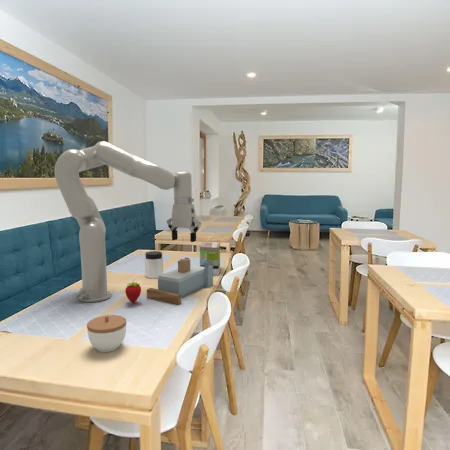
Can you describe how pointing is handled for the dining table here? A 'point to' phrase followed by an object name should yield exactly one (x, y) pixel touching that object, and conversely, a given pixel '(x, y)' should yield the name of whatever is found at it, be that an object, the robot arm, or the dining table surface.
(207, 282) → the toolbox
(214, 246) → the tea box
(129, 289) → the strawberry
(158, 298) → the brown block
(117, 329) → the lidded jar
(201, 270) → the lid
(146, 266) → the jar
